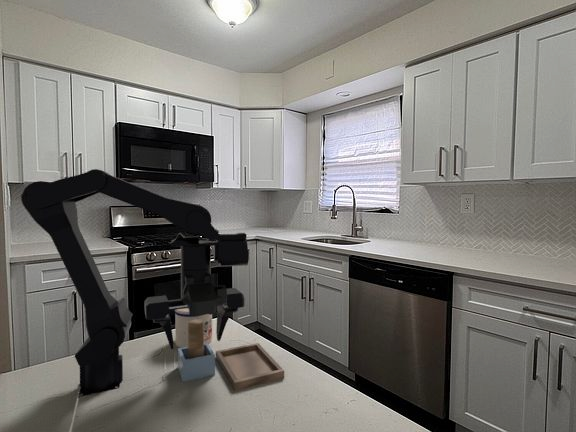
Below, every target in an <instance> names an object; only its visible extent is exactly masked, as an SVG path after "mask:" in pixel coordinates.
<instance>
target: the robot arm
mask: <svg viewBox="0 0 576 432" xmlns="http://www.w3.org/2000/svg"><path fill="white" fill-rule="evenodd" d="M97 194H103V195H105V196H108V197H111V198H113V199H116V200H118V201H121V202H124V203H126V204H128V205H131V206H134V207H136V208H139V209H141V210H144V211H147V212H149V213H152V214H155V215H157V216H159V217H161V218H163V219H164V220H166V221H168V222H169V223H171V224H172V225H174V226H175V227H177V228H179V229H180V230H182V231H184V232H185V233H188V234H189V235H193V236H184V235H183V234H182V233H181V232H179V233H178V234H177V236H176V238H174V239H173V240H171V242H170V246H171V247H180V298H178V299H169V300H168V297H167V295H165V294H164V295H157V296H156V295H155V296H148V297H146V299H144V315H145V320H148V321H151V320H152V321H153V323H155V324H160V325H161V327H162V329H163V331H164V333H165V336H166V338H167V341H168V344H169V347H170V350H174V337H173V329H172V318H171V316H170V311H174V310H177V309H184V308H188V309H189V314H190V315H191V316H193V317H197V316H199V315H205V314H209V315H211V314H212V315H214V314H216V329H215V331H216V341H218V342H220V341H221V340H222V336H223V333H224V330H225V328H226V325H227V322H228V321H229V318H230V317H231V316H232V315H233V314H234V313H236V312H238V311H239V308H244V307H245V296H244V293H242V292H241V291H240V290H238V289H237V288H236V287H229V288H227V286H226V285H225V284H219V285H214V284H213V282H212V281H213V280H212V279H213V278H212V273H211V272H212V271H211V269H212V268H211V262H212V261H211V257H212V253H211V250H212V248H211V247H212V246H213V262H214V263H216V262H217V264H218V265H219V267H220V268H221V267H223V268H224V267H241V266H246V267H247V266H248V264H249V258H250V250H249V246H248V241H247V233H245V232H236V233H220V232H219V230H218V229H217V228H215V227H214V226H213V224H212V216H211V213H210V211H209V210H208V209H207V208H205V207H204V206H202V205H200V204H196V203H191V202H187V201H182V200H177V199H172V198H169V197H165V196H163V195H160V194H158V193H155V192H153V191H151V190H149V189H146V188H144V187H140V185H139V186H138V185H136V184H134V183H131V182H128V181H127V180H124V179H121V178H119V177H116V176H114V175H112V174H110V173H109V172H107V171H105V170H102V169H96V168H95V169H93V168H92V169H90V170H88V171H85V172H84V173H83V172H82V173H81V174H80V173H79V174H77V175H72V176H69V177H64V178H60V179H57V180H54V181H45V180H43V181H42V180H38V181H33V182H32V183H29V184H28V185H27V186H26V187H25V188H24V189H23V191H22V193H21V194H20V201H21V203H22V206H23V207H24V209H25V210H26V211H27V212H28V214H29V215H30V217H31V218H32V219H33V221H34V222H35V223H36V224H37V225H38V226H40V228H41V229H42V230H44V232H46V233H47V234H48V236H50V239H51V240H52V242H53V244H54V247H55V248H56V250H57V253H58V254H59V257H60V259H61V261H62V264H63V265H64V268H65V270H66V271H67V273H68V275H69V277H70V278H69V279H71V282H72V284H73V285H74V288H75V290H76V292H77V294H78V296H79V298H80V301H81V303H82V304H83V307H84V312H85V313H84V315H85V328H86V331H87V336H88V337H87V339H86V340H84V342H83V344H82V345H81V346H80V347H79V349H78V350H77V352H76V353H75V354H74V358H75V361H76V363H77V365H78V366H79V390H78V395H77V397H78V398H77V399H80V397H84V396H89V395H93V394H99V393H103V392H107V391H113V390H117V389H120V386H121V382H123V380H124V379H123V378H124V377H123V374H124V373H123V372H124V369H123V368H124V367H123V366H124V365H123V359H124V358H123V354H120V347H121V346H122V345H123V343H124V341H125V339H126V337H127V335H128V332H129V331H130V328H131V326H132V317H133V315H134V314H133V313H132V312H131V311H130V309H129V308H128V304H127V301H126V298H125V297H122V298H120V299H119V300H117V299H116V297H114V296H113V295H111V293H110V292H109V289H108V287H107V285H106V283H105V281H104V279H103V276H102V275H101V271H100V270H99V268H98V266H97V264H96V262H95V260H94V257H93V255H92V254H91V251H90V249H89V247H88V245H87V242H86V240H85V238H84V236H83V234H82V232H81V230H80V227H79V218H78V209H77V208H78V207H77V205H76V203H77V202H81V201H84V200H86V199H87V198H90V197H93V196H96V195H97ZM199 235H201V236H202V237H204V238H205V239H208V240H200V237H199Z"/></svg>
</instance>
